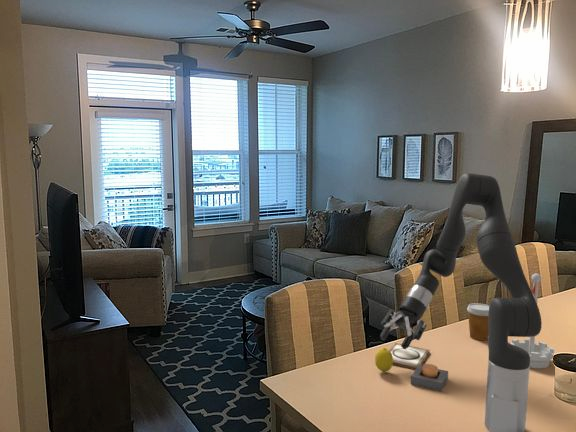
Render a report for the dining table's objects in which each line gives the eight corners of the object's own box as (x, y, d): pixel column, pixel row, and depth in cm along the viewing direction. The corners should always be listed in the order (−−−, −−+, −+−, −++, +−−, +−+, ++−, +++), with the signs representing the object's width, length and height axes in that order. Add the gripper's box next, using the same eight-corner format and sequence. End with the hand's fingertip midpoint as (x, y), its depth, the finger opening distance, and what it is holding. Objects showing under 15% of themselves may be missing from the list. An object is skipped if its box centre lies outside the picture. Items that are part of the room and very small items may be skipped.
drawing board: (417, 370, 150) (418, 366, 150) (381, 362, 156) (381, 358, 155) (429, 352, 164) (429, 349, 163) (395, 345, 169) (395, 342, 169)
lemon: (372, 373, 147) (373, 349, 146) (377, 367, 152) (378, 343, 151) (389, 377, 144) (390, 352, 143) (394, 370, 149) (395, 346, 148)
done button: (435, 379, 139) (436, 371, 139) (420, 376, 141) (421, 368, 141) (438, 373, 143) (439, 366, 142) (424, 370, 145) (424, 363, 145)
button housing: (441, 391, 136) (442, 383, 136) (410, 384, 140) (411, 376, 140) (447, 378, 144) (448, 371, 144) (418, 372, 148) (418, 364, 148)
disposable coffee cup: (498, 340, 175) (500, 309, 174) (478, 343, 172) (480, 311, 171) (479, 331, 184) (480, 301, 183) (459, 334, 181) (461, 304, 179)
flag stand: (514, 350, 166) (520, 267, 163) (556, 360, 158) (563, 273, 155) (504, 362, 156) (509, 274, 153) (548, 373, 148) (555, 280, 145)
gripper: (394, 290, 159) (370, 330, 153) (430, 300, 147) (405, 344, 142) (403, 303, 162) (380, 342, 157) (439, 314, 151) (415, 357, 146)
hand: (392, 343), depth 149 cm, fingers open, 8 cm apart
